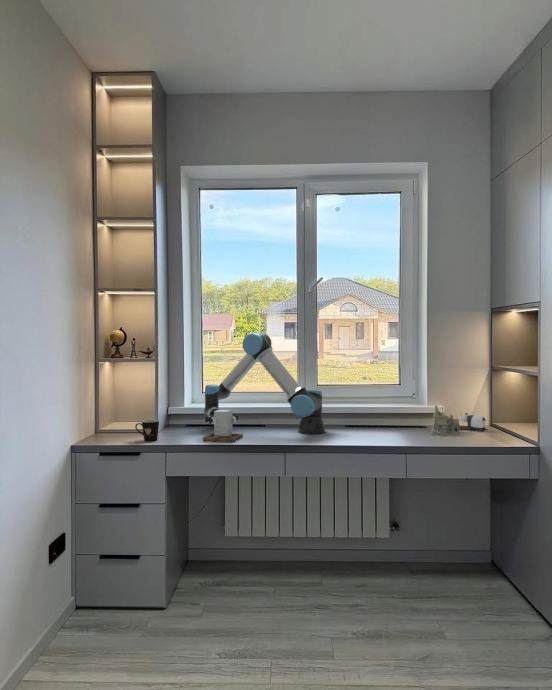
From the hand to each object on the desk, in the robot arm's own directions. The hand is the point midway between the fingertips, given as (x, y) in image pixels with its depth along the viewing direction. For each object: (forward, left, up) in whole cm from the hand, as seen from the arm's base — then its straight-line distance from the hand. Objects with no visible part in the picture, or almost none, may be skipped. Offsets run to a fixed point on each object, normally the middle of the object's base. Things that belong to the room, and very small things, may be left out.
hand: (225, 421), depth 266 cm
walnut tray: (+2, -4, -10) cm, 11 cm away
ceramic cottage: (-107, -50, -10) cm, 119 cm away
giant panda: (-123, -64, -10) cm, 138 cm away
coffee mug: (+38, +8, -10) cm, 41 cm away
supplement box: (+3, -4, -8) cm, 9 cm away
